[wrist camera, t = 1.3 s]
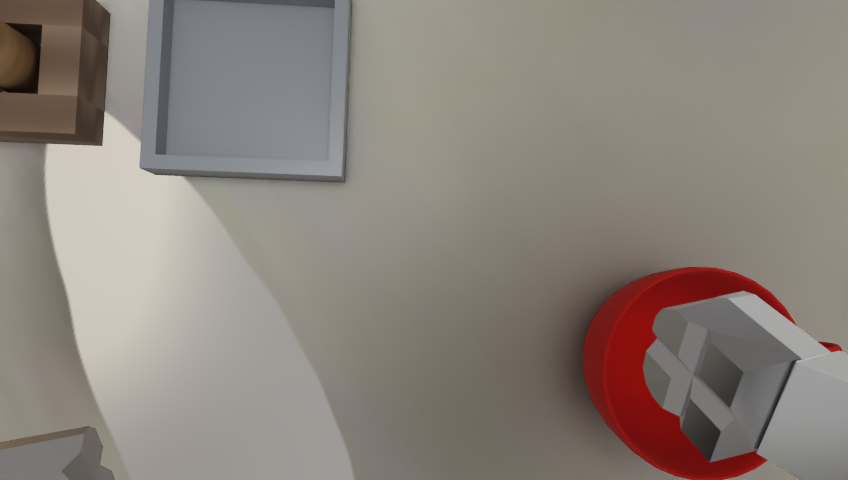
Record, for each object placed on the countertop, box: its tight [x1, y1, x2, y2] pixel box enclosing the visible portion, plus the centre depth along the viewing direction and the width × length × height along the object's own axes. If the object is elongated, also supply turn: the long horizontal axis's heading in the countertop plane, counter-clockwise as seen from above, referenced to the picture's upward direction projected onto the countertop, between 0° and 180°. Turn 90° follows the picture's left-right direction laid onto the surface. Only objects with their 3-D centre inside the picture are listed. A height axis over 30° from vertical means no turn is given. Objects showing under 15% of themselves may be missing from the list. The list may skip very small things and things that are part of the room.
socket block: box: [0, 0, 110, 146], centre depth 44 cm, size 10×10×4 cm
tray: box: [140, 0, 352, 182], centre depth 45 cm, size 14×14×3 cm
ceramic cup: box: [583, 267, 843, 480], centre depth 42 cm, size 13×17×10 cm
